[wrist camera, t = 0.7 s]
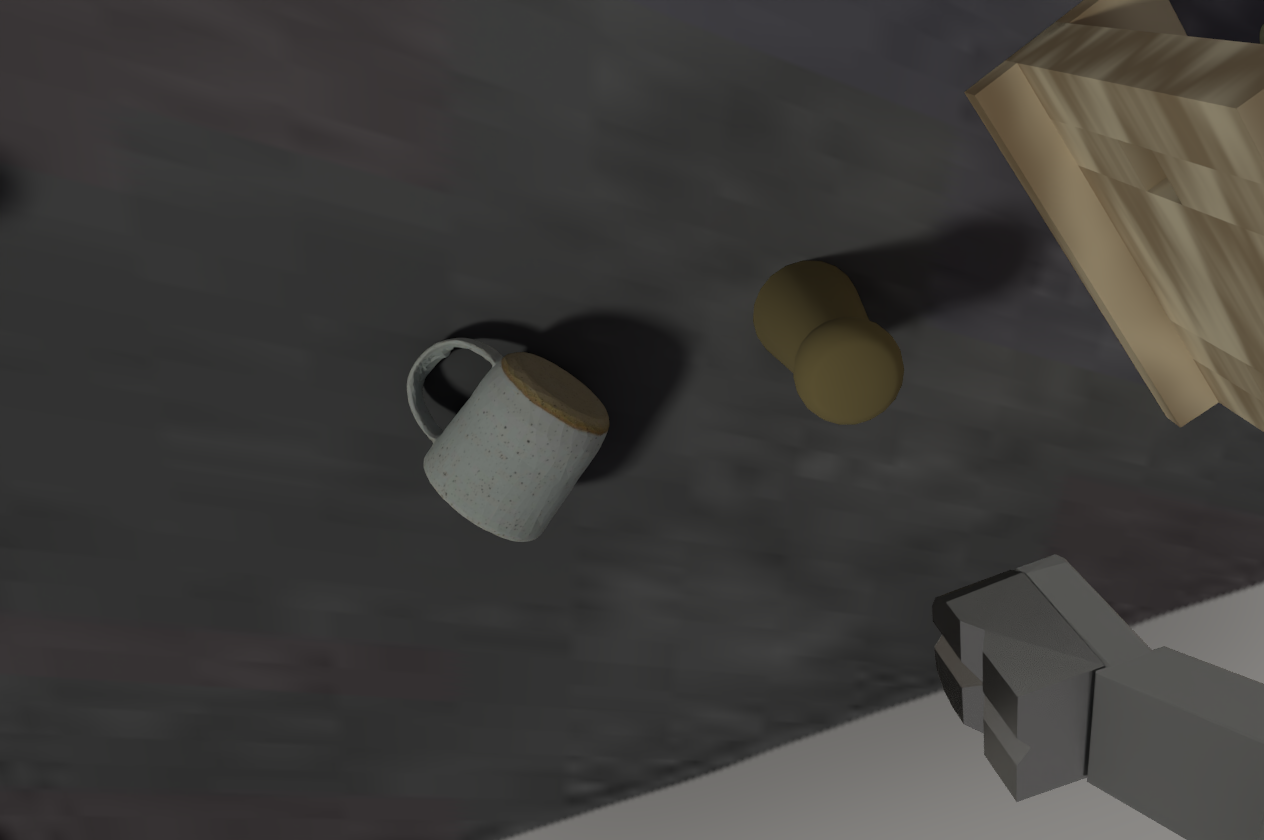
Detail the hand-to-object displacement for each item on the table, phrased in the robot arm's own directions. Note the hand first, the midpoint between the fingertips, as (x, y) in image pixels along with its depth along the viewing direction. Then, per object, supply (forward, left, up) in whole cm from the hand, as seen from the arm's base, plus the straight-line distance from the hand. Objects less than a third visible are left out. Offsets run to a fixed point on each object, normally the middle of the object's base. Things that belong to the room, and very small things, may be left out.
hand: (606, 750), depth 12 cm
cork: (+9, +13, -46) cm, 49 cm away
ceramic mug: (+15, -4, -46) cm, 49 cm away
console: (+3, +32, -46) cm, 56 cm away
